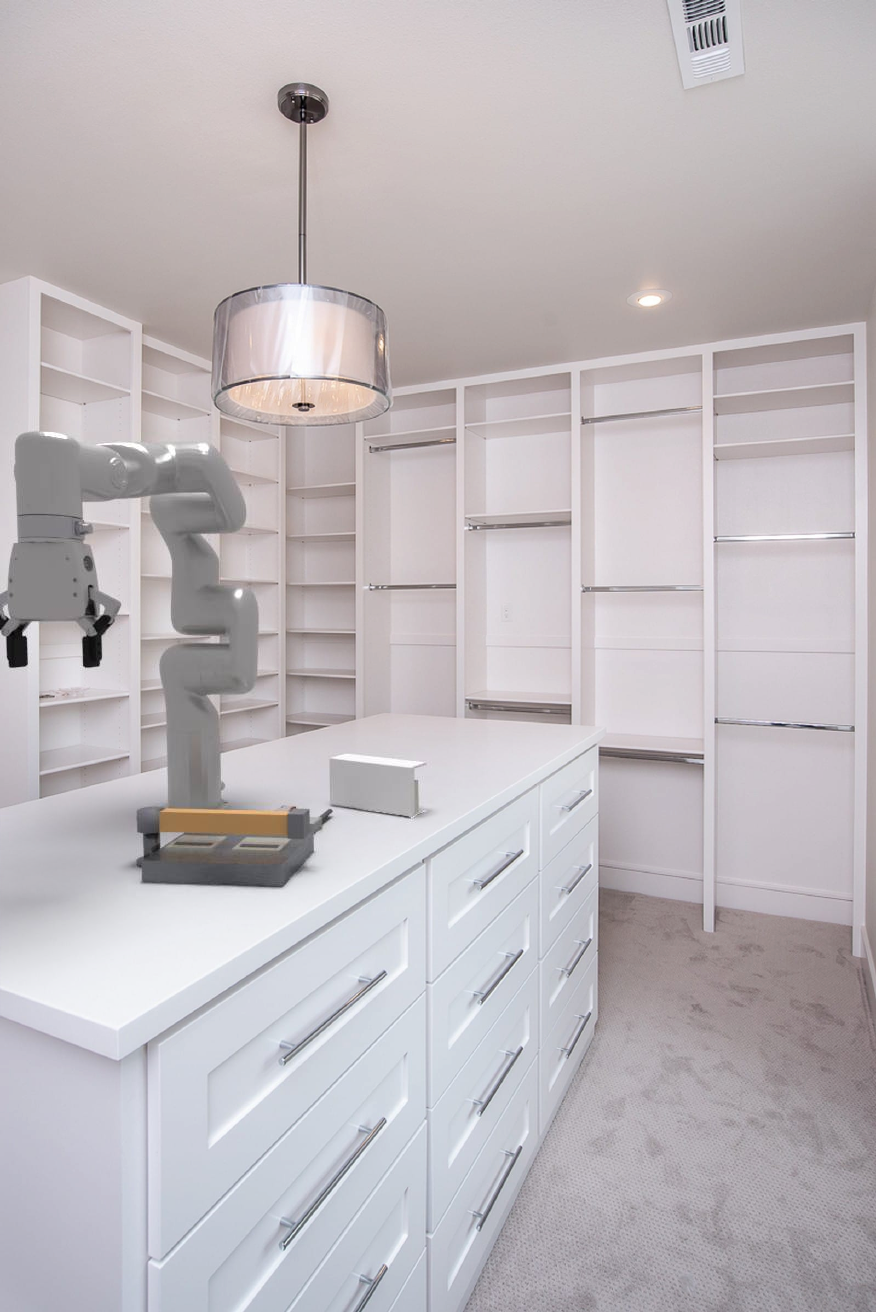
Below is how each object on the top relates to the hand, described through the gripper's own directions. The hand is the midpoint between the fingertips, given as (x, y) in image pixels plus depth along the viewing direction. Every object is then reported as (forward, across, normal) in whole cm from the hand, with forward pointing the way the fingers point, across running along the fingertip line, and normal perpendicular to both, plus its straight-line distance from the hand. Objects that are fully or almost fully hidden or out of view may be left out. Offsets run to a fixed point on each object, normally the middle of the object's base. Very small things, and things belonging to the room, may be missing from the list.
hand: (55, 667), depth 99 cm
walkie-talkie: (+31, -23, -33) cm, 50 cm away
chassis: (+30, -18, -14) cm, 38 cm away
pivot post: (+30, -6, -15) cm, 34 cm away
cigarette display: (+31, -35, -48) cm, 67 cm away
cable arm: (+26, -17, -14) cm, 34 cm away
